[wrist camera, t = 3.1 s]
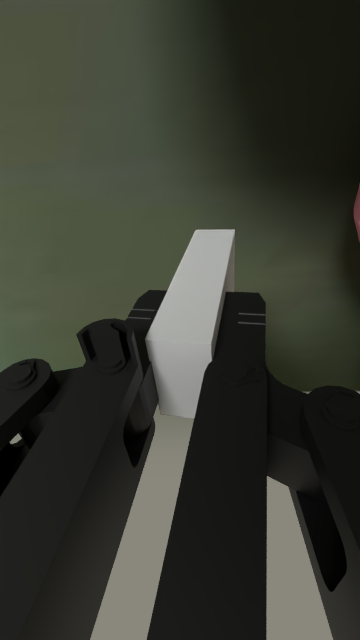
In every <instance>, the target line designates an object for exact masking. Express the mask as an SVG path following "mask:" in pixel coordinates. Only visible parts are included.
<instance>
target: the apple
mask: <svg viewBox="0 0 360 640" xmlns="http://www.w3.org/2000/svg"><path fill="white" fill-rule="evenodd" d="M353 209H354V220H355V224H356V229H357V233H358V237H359V241H360V184H359V188H358V192H357V196H356V200H355V204H354V208H353Z"/></svg>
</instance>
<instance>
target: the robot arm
mask: <svg viewBox="0 0 360 640" xmlns="http://www.w3.org/2000/svg"><path fill="white" fill-rule="evenodd" d="M234 259H235V230H196V231H195V233H194V235H193V237H192V239H191V241H190V243H189V246H188V248H187V250H186V252H185V254H184V256H183V258H182V261H181V263H180V265H179V267H178V269H177V271H176V273H175V276H174V278H173V280H172V282H171V284H170V286H169V289H168V291H161V290H149V291H147V292H146V293H145V294H143V295H142V296H141V297H139V298H138V300H137V302H136V303H135V305H134V307H133V310H131V312H130V314H129V315H128V318H127V319H126V321H124V320H120V319H115V318H114V319H103V320H99V321H96V322H93V323H91V324H89V325H87V326H86V327H84V328H83V329H82V330H81V331H79V332H78V333H77V334H76V335H77V337H78V340H79V343H80V345H81V348H82V351H83V353H84V356H85V359H86V362H85V364H84V366H83V367H79V368H73V369H67V370H61V371H55V372H53V371H52V369H51V367H50V365H49V363H47V362H46V361H44V360H42V359H35V358H33V359H27V360H22V361H20V362H17V363H15V364H12V365H11V366H9V367H8V368H6V369H5V370H3V371H2V372H1V373H0V640H90V638H91V634H92V631H93V628H94V625H95V622H96V618H97V615H98V612H99V609H100V606H101V602H102V599H103V596H104V593H105V590H106V586H107V583H108V580H109V577H110V573H111V570H112V567H113V564H114V561H115V558H116V554H117V551H118V548H119V545H120V541H121V538H122V535H123V532H124V529H125V526H126V522H127V519H128V516H129V513H130V509H131V506H132V503H133V500H134V497H135V494H136V490H137V487H138V484H139V481H140V477H141V474H142V471H143V468H144V465H145V461H146V458H147V455H148V452H149V449H150V446H151V442H152V439H153V436H154V432H155V422H154V418H153V416H154V413H155V410H156V407H157V404H158V405H159V410H160V414H163V415H170V416H177V417H185V418H193V419H194V423H193V427H192V432H191V437H190V441H189V446H188V451H187V455H186V460H185V465H184V469H183V474H182V478H181V483H180V488H179V493H178V497H177V502H176V506H175V511H174V516H173V520H172V525H171V530H170V534H169V539H168V544H167V548H166V553H165V557H164V562H163V567H162V572H161V576H160V581H159V585H158V590H157V595H156V600H155V604H154V609H153V613H152V618H151V623H150V627H149V632H148V636H147V640H266V558H267V557H266V552H267V550H266V549H267V548H266V546H267V544H266V542H267V541H266V540H267V514H266V513H267V476H269V477H271V478H273V479H275V480H277V481H279V482H280V483H282V484H284V485H287V486H288V487H289V490H290V493H291V497H292V500H293V503H294V507H295V510H296V514H297V517H298V520H299V524H300V527H301V531H302V534H303V538H304V541H305V544H306V548H307V551H308V555H309V558H310V561H311V565H312V568H313V572H314V575H315V579H316V582H317V585H318V589H319V592H320V595H321V599H322V602H323V606H324V609H325V612H326V616H327V619H328V623H329V626H330V629H331V633H332V636H333V640H360V394H359V393H357V392H356V391H353V390H350V389H347V388H344V387H340V386H324V387H320V388H316V389H314V390H313V391H311V392H310V393H309V394H306V393H303V392H301V391H298V390H295V389H292V388H290V387H288V386H286V385H284V384H282V383H280V382H279V381H278V380H276V379H275V378H274V377H273V376H272V375H271V374H270V372H269V370H268V369H267V367H266V361H265V309H266V303H265V301H264V300H263V298H262V297H261V296H260V294H259V293H248V292H234ZM18 433H19V435H20V436H21V437H22V439H21V440H20V441H18V442H17V443H14V444H10V441H11V440H12V439H13V438H14V437H15V436H16V435H17V434H18Z"/></svg>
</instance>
